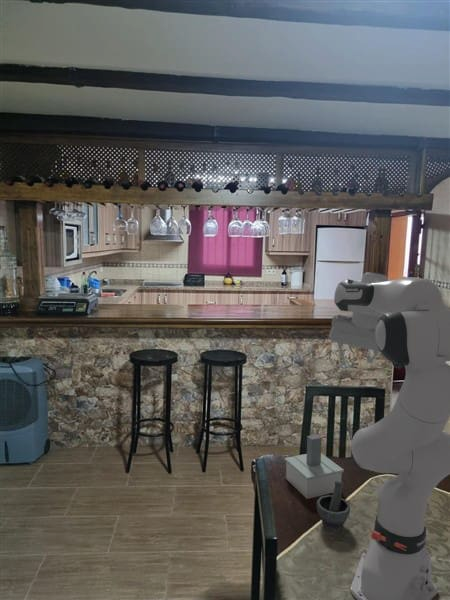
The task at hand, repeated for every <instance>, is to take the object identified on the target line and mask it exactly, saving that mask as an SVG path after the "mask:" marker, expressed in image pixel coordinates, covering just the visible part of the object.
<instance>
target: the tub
mask: <svg viewBox="0 0 450 600" xmlns="http://www.w3.org/2000/svg"><path fill="white" fill-rule="evenodd" d="M285 463H286V465H285V467H286V468H285V479H286V480H287V481H288V482H289V484H291V485H292V486H293V487H294V488H295V489H297V491H298V492H299V493H300V494H301V495H303V497H305V499H308V500H309V499H312V498H315V497H322V496H326V495H330V494H333V491H334V487H335V481H339V482H342V477H343V476H342V475H343V474H342V473H343V472H342V473H337V474H333V475H328V476H324V477H319V478H315V479H310V480H306V479H305V478H304V477H303V476H302V475H301V474H300V473H299V472H297V471H296V470H295V469H294V468H293V467H292V466H291V465H290V464H288V463H287V462H286V461H285Z"/></svg>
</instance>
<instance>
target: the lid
mask: <svg viewBox="0 0 450 600" xmlns="http://www.w3.org/2000/svg"><path fill="white" fill-rule="evenodd" d="M322 440H323V439H322V437H321V436H320V435H318V434H313V435H312V434H311V435H307V436H306V453H304V454H298V455H293V456H289V457H284V461H285V463H286V462H287V463H288V464H290V465H291V466H292V467H293V468H294V469H295V470H296V471H297V472H299V473H300V474H301V475H302V476H303V477H304V478H305V479H306V480H310V479H315V478H319V477H324V476H328V475H333V474H337V473H344V472H345V470H344V468H342V467H341V466H339V465H338V464H337V463H335V462H334V461H333V460H331V459H330V458H329V457H327V456H326V455H324V454H323V453H322Z"/></svg>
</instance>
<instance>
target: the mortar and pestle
mask: <svg viewBox="0 0 450 600" xmlns="http://www.w3.org/2000/svg"><path fill="white" fill-rule="evenodd" d="M344 485H345V484H344V483H343V482H342V481H341V482H339V481H335V487H334V491H333V493H332V495H330V494H325V495H321V496H319V497H318V499H317V501H316V510H317V513H318V515H319V517H320V519H321V525H322V526H323V528H324V529H325V530H327V531H328V532H334V533H337V532H338V533H339V532H340V531H342V530H343V528H344V524H345V523H346V522H347V519H348V518H349V516H350V513H351V506H350V504H349V501H347V500H346V499H344V498H343V497H342V495H343V488H344V487H345V486H344Z"/></svg>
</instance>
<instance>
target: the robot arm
mask: <svg viewBox="0 0 450 600" xmlns="http://www.w3.org/2000/svg"><path fill="white" fill-rule="evenodd" d="M388 279H389V278H388V276H387V275H386V274H383V273H380V272H372V271H368V272H367V271H366V272H365V273H363V275H362V277H361V280H360V281H358V280H353V279H348V278H346V279H344V280H342V281H340V282H339V283H337V286H336V289H335V291H334V297H333V298H334V301H333V302H334V304H335V306H336V307H337V308H338V309H339V311H340V312H341V311H342V312H351V313H352V314H351V316H347V315H342V314H337V315H334V316H332V319H331V326H332V327H331V329H330V331H329V332H330V333H329V334H328V335H329V336H328V338H329V340H330V341H331V342H334V343H338V344H337V345H338V350H339V353H338V357H341V358H343V357H345V353H346V352H345V350H344V349H342V348H343V346H344V345H347V346H352V347H356V348H360V349H366V350H370V351H372V353H373V354H372V355H371V356H369V355H368V357H367V360H366V362H367V363H368V364H369V363H370V364H373V362H374V359H375V358H376V357H377V356H378V355H379V353H381V354H382V356H383V357H384V358H385V359H386V360H387V361H389V362H391V364H392V366H393V367H394V368H396V369H398V370H400V369H402V368H405V377H404V381H403V382H402V385H401V387H400V390H399V392H398V396H397V397H396V400H395V402H394V405H393V407H392V409H391V411H390V412H389V413H388V414H386V415H385V416H384V417H382V418H381V419H380V420H379V421H377V422H375V423H373V424H370V425H368V426H367V427H363V428H359V429H358V430H356V431H355V434H354V435H353V437H352V440H351V446H350V447H351V449H350V450H351V454H352V457H353V459H354V461H355V463H356V464H357V465H358V467H360V469H364V470H367V471H371V472H375V473H381V474H395V475H396V474H397V476H395V477H393V478H391V479H390V480H388V481H386V482H384V484H382V486H381V487H380V489H379V491H378V500H377V501H378V503H377V514H376V515H375V521H374V525H373V530H371V534H370V535H371V536H370V540H369V543H368V545H367V546H368V547H367V549H365V552H363V553H362V554H361V557H360V560H359V563H358V565H357V569H356V571H355V574H354V577H353V579H352V582H351V585H350V593H351V595H353V597H354V598H355V599H356V600H432V599H433V598H434V597H435V596H436V595H438V588H437V585H436V584H435V583H434V582H433V581H432V557H431V555H430V553H429V551H428V549H427V547H426V543H427V542H426V540H427V529H426V526H425V524H426V523H425V522H426V513H427V507H428V501H429V498H430V496H431V495H432V493H433V491H434V490H435V488H436V487H437V486H438V484H439V483H440V482H441V481H443V479H445V478H446V477H448V476H449V475H450V433H448V432H445V431H444V429H445V428H446V425H447V424H448V421H449V420H450V364H448V363H447V362H450V307H447V306H445V305H444V304H443V298H442V293H441V290H440V288H439V287H438V286H437V285H436V284H435V283H434V282H432V281H431V280H429V279H426V278H422V277H414V276H411V277H410V276H409V277H408V276H407V277H401V278H397V279H390V280H388Z"/></svg>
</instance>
